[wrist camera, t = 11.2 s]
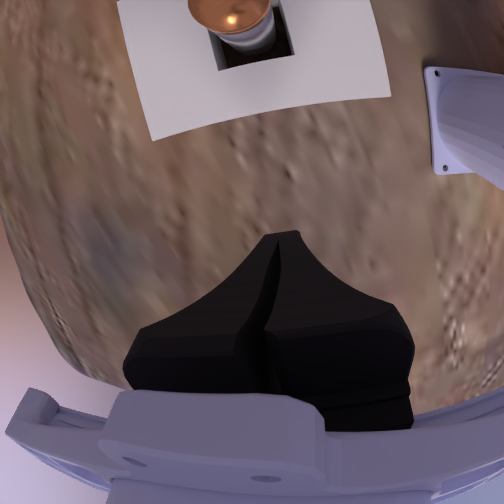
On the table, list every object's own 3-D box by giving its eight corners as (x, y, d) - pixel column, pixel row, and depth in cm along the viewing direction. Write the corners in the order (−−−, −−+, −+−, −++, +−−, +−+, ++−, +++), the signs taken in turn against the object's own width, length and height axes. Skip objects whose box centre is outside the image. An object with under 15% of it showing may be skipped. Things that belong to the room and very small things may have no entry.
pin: (273, 13, 14) (263, -39, 7) (278, 53, 16) (273, 24, 8) (227, 19, 15) (184, -25, 7) (232, 58, 16) (191, 37, 8)
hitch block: (340, -34, 11) (349, -54, 8) (373, 94, 16) (391, 96, 13) (141, 11, 14) (116, 2, 11) (172, 132, 19) (152, 141, 16)
